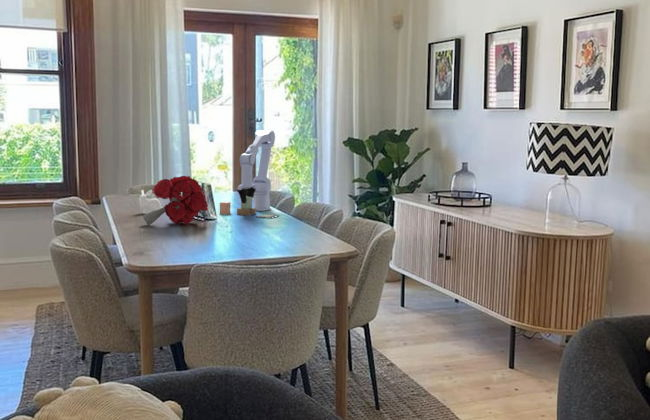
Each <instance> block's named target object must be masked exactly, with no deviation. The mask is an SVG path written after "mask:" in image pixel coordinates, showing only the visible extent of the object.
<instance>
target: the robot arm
mask: <svg viewBox="0 0 650 420" xmlns="http://www.w3.org/2000/svg"><path fill="white" fill-rule="evenodd" d="M275 134H276V133H275V131H274V130H263V129H257V130H256V131H255V133H254V139H253V142H252V144H250V145H249V146H248V147H247V148H246V151H245V152H244V153H242V154H241V155H240V156H239V165H240V168H241V172H240V173H241V178H240V179H241V181H240V182H241V184H239V185H237V193H238V194H239V198H240V203H241V202H242V203H246V197H247V196H248V197H252V199H253V201H254V202H253V208H256V211H257V212H265V210H266V211H269V210H272V208H271V196H270V195H269V194H270V192H271V189H272V186H271V182H272V181H271V179H269V178H268V170H269V164H270V158H271V151H272V148H273V147H274V145H275V141H276V135H275ZM259 148H261V151H260V152H261V154H260V159H259V166H258V172H257V176H255V177H253V168H254V166H253V165H254V164H255V163H256V162H255V161H256V157H257V155H258V153H259Z"/></svg>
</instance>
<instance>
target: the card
mask: <svg viewBox="0 0 650 420" xmlns="http://www.w3.org/2000/svg"><path fill="white" fill-rule="evenodd" d="M277 215H278V214H268V213H264V214H260V215H256V216H255V218H256V217H258V218H257V219H265V218H271V219H273V218H272V217H275V216H277ZM278 216H279V217H280V215H278ZM275 218H276V217H275Z"/></svg>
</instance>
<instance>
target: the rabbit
mask: <svg viewBox="0 0 650 420" xmlns="http://www.w3.org/2000/svg"><path fill="white" fill-rule="evenodd" d="M144 191H145V190H144V189H141V191H140V194H141V195H139V198H138V202H139V207H140V208H141V209H142V210H143V211H142V214H144V215H145V214H147V213H149V212H152V211H156V210H159V209H161V208H163V207H164V206H162V203H161V201H160V200H159V198H158V199H157V198H156V197H154V198H153V197H152V198H147V197H148V196H150V195H152V194H153V189H149V190H148V191H146V192H144Z"/></svg>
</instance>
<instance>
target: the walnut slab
mask: <svg viewBox="0 0 650 420" xmlns="http://www.w3.org/2000/svg"><path fill="white" fill-rule="evenodd" d="M256 211H257V210H256V208H254V207H252V208H251V209H244V208H241V207H237V208H236V214H237V215H238V216H239V215H240V216H247V215H249V216H253V215H252V214H254V215H256V214H257V213H256Z"/></svg>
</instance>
